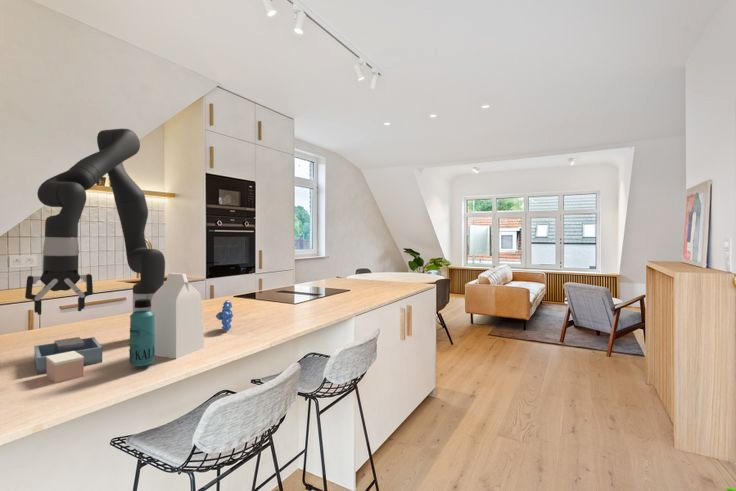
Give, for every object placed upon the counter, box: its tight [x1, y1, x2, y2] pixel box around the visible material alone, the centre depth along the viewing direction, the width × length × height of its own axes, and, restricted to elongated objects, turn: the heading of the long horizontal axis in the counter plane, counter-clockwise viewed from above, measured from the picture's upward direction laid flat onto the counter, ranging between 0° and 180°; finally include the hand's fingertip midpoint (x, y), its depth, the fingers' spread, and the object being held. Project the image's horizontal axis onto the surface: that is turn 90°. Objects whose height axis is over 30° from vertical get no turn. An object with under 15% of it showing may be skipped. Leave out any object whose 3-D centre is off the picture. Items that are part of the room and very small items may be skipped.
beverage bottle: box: [128, 299, 156, 367], centre depth 107 cm, size 6×7×20 cm
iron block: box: [53, 336, 84, 355], centre depth 112 cm, size 6×8×5 cm
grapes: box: [215, 300, 234, 332], centre depth 150 cm, size 12×7×12 cm, turn 15°
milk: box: [151, 272, 205, 360], centre depth 122 cm, size 12×12×26 cm
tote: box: [33, 336, 103, 375], centre depth 112 cm, size 15×15×4 cm
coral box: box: [46, 351, 85, 384], centre depth 101 cm, size 6×8×6 cm
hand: (60, 312), depth 102 cm, fingers open, 8 cm apart
